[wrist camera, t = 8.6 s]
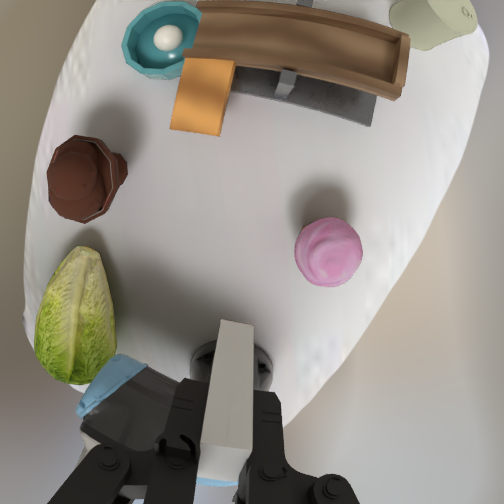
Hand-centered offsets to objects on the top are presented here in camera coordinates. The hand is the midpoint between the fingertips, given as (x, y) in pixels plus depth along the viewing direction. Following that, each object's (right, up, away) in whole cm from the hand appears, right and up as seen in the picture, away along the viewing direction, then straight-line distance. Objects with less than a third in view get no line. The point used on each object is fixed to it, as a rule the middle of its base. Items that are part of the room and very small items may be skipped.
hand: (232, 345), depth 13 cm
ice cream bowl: (-20, +16, +26) cm, 36 cm away
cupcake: (+11, +7, +29) cm, 32 cm away
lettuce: (-28, -5, +34) cm, 44 cm away
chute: (+6, +25, +17) cm, 30 cm away
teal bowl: (-11, +34, +19) cm, 40 cm away
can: (+26, +40, +16) cm, 50 cm away
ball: (-10, +33, +16) cm, 38 cm away
